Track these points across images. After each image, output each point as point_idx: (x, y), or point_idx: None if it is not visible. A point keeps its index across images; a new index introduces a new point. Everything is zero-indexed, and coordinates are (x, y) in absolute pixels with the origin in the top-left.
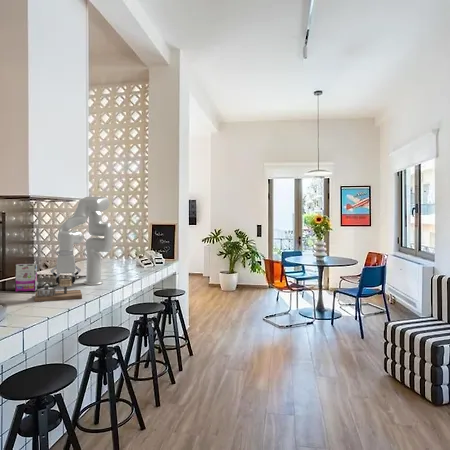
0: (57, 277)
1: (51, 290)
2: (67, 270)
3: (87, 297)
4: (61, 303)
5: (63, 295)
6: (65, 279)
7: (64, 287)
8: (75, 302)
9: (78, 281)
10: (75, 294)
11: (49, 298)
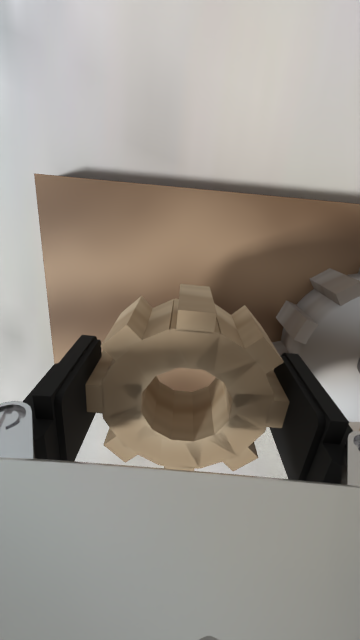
0: (342, 444)
1: (349, 287)
2: (136, 574)
3: (4, 218)
4: (262, 23)
5: (215, 238)
6: (181, 454)
7: None
8: (115, 10)
9: None
10: (100, 242)
11: (350, 204)
